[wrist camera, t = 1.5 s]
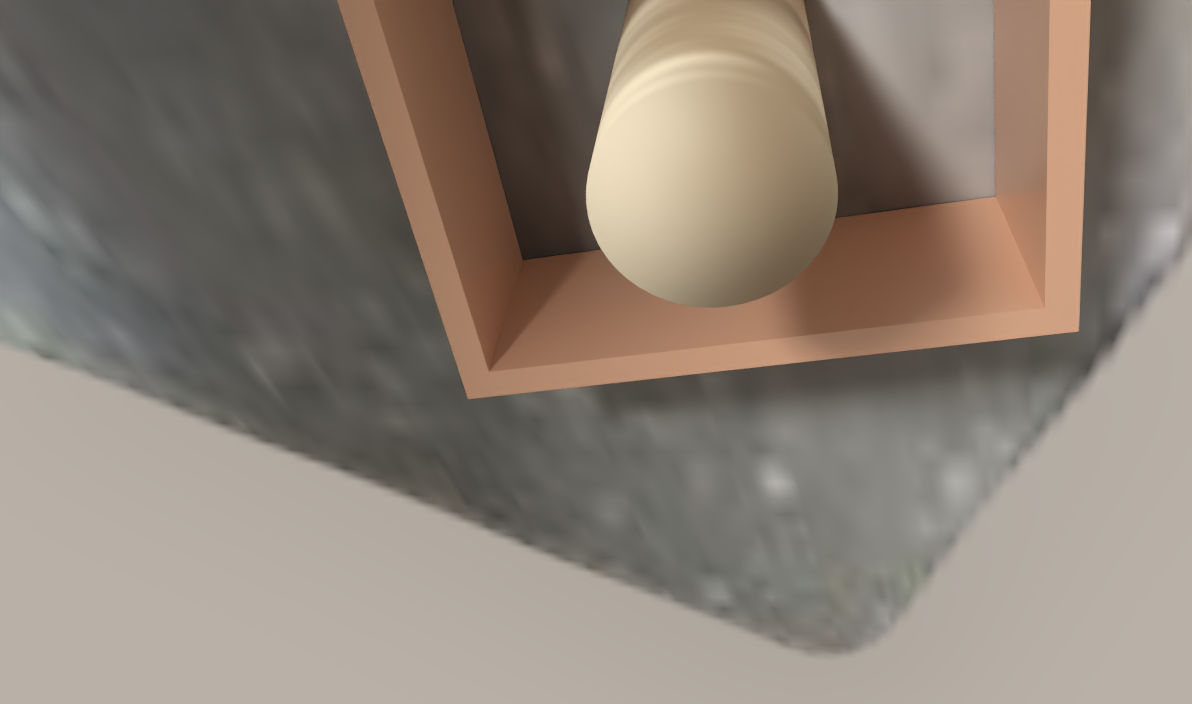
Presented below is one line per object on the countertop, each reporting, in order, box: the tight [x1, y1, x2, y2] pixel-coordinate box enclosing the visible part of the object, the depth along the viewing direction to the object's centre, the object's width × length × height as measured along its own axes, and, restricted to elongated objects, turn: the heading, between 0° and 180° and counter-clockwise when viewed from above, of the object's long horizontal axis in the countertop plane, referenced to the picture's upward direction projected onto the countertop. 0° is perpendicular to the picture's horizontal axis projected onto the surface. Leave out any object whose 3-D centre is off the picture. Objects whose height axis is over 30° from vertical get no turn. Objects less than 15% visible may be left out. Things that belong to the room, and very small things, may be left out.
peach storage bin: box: [337, 0, 1091, 399], centre depth 27 cm, size 16×16×6 cm
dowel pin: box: [586, 0, 838, 308], centre depth 25 cm, size 4×4×12 cm
